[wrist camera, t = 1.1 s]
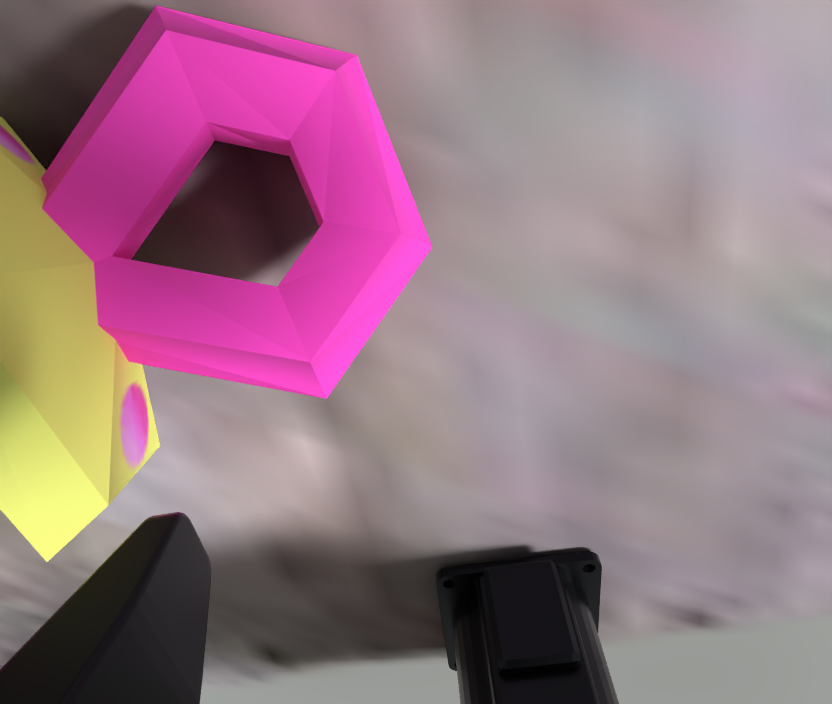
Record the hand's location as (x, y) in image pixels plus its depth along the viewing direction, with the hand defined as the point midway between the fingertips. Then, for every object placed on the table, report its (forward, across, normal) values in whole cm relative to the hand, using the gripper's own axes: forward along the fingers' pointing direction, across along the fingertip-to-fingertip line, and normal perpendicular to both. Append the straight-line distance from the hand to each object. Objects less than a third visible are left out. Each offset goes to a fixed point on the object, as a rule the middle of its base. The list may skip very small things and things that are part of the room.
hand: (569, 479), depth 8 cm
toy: (+12, +10, 0) cm, 16 cm away
